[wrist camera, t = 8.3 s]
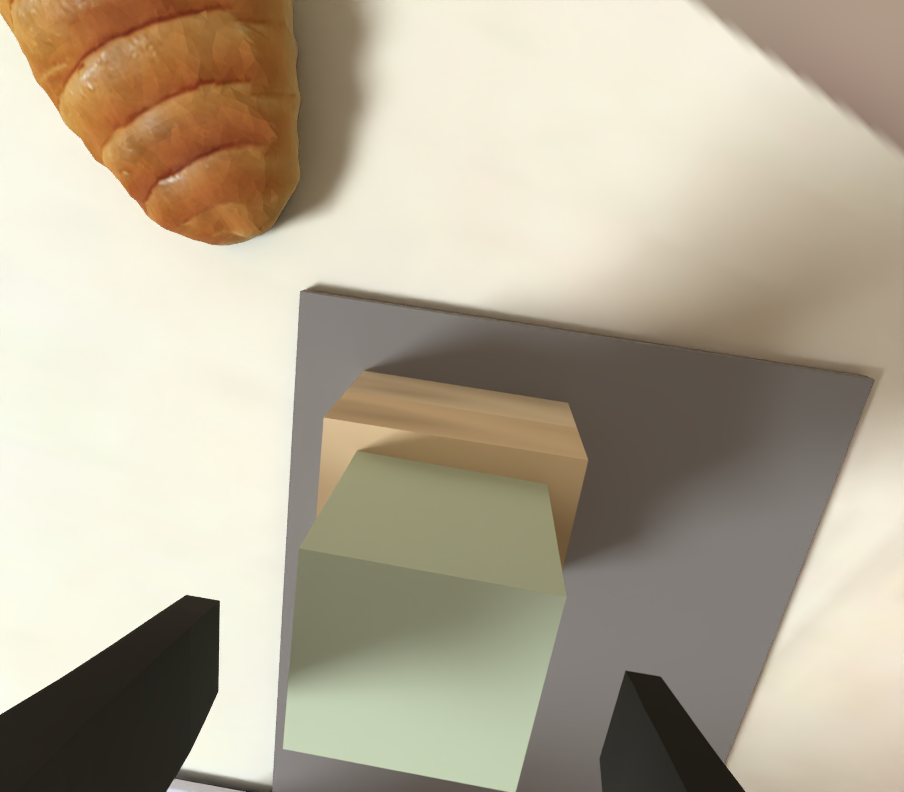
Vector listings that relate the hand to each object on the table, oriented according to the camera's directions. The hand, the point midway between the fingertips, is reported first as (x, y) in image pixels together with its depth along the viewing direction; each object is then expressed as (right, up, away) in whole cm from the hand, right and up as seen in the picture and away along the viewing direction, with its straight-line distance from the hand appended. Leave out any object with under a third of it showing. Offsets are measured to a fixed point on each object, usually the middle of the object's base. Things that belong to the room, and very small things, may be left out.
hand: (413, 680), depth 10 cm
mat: (+3, -3, +9) cm, 10 cm away
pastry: (-6, +15, +5) cm, 17 cm away
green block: (0, +1, +4) cm, 4 cm away
